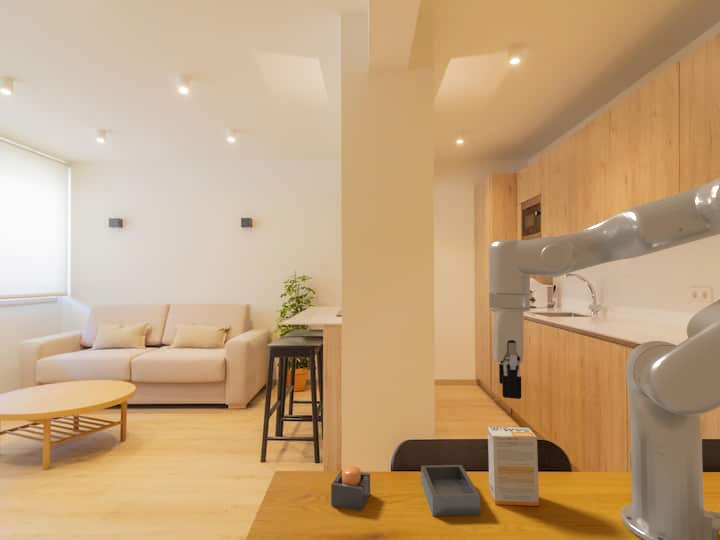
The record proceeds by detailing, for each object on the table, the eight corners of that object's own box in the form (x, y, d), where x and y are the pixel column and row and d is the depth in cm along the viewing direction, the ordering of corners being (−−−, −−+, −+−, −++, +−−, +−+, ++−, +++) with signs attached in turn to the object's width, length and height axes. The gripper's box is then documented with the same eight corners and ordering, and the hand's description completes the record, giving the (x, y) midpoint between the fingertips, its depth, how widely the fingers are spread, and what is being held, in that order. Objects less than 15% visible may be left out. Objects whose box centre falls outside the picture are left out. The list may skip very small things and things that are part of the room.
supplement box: (530, 493, 77) (529, 426, 77) (539, 507, 72) (538, 436, 72) (488, 491, 78) (487, 425, 78) (494, 505, 73) (492, 435, 73)
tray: (461, 481, 81) (461, 464, 81) (480, 515, 70) (479, 495, 70) (421, 482, 81) (421, 465, 81) (432, 516, 69) (432, 496, 70)
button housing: (370, 493, 77) (370, 473, 77) (361, 511, 71) (361, 489, 71) (341, 489, 79) (341, 469, 79) (331, 505, 73) (331, 484, 73)
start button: (362, 488, 76) (362, 467, 76) (357, 498, 73) (357, 476, 73) (345, 485, 77) (345, 465, 77) (339, 495, 74) (339, 474, 74)
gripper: (487, 300, 85) (488, 378, 85) (490, 305, 69) (491, 402, 68) (524, 301, 83) (524, 380, 83) (536, 306, 67) (537, 406, 66)
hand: (509, 390), depth 76 cm, fingers open, 9 cm apart
